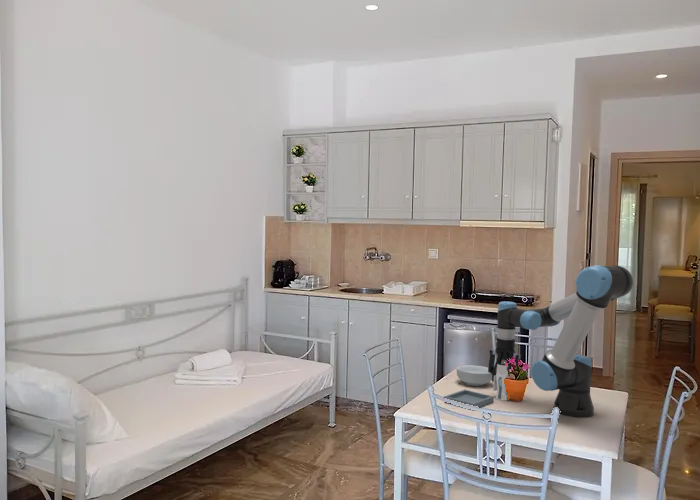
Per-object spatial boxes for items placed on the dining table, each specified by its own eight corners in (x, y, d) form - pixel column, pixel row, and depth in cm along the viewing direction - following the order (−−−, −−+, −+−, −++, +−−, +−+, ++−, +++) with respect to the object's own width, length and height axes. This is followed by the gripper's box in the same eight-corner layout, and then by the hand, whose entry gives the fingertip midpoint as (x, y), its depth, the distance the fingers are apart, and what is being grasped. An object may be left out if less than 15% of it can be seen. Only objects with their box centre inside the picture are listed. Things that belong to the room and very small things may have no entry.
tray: (493, 402, 253) (493, 396, 253) (473, 410, 241) (473, 404, 241) (464, 395, 262) (464, 389, 262) (443, 402, 251) (443, 396, 251)
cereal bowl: (498, 383, 284) (499, 368, 284) (486, 391, 270) (486, 375, 270) (463, 377, 293) (464, 362, 293) (450, 384, 279) (451, 369, 279)
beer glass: (513, 401, 255) (514, 366, 255) (496, 400, 256) (498, 365, 255) (509, 396, 262) (510, 362, 262) (493, 396, 262) (494, 361, 262)
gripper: (531, 340, 254) (528, 395, 255) (489, 333, 267) (487, 385, 268) (523, 342, 248) (520, 398, 249) (480, 335, 262) (478, 388, 263)
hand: (503, 391), depth 259 cm, fingers closed on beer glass, 7 cm apart
